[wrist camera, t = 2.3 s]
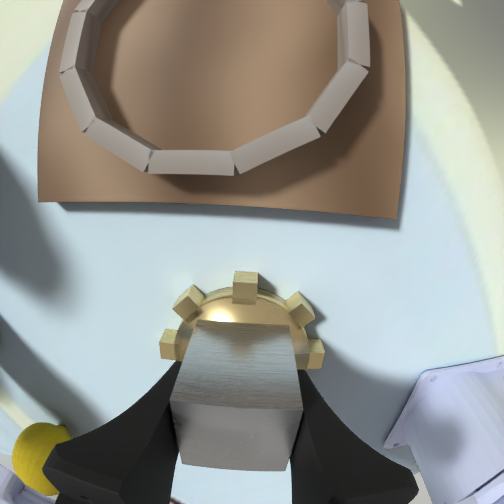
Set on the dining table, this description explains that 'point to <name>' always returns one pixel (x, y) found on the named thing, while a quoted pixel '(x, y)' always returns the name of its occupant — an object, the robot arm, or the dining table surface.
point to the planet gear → (239, 374)
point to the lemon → (37, 454)
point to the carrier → (226, 104)
